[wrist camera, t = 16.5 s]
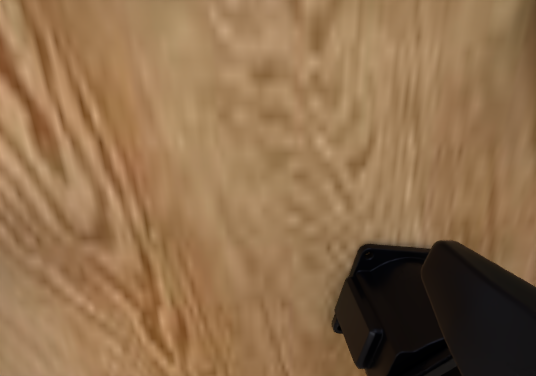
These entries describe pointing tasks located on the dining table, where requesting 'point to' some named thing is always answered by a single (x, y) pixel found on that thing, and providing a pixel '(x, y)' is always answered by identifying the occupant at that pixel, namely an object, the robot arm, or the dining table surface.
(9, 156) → the dining table surface
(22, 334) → the dining table surface
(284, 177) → the dining table surface
